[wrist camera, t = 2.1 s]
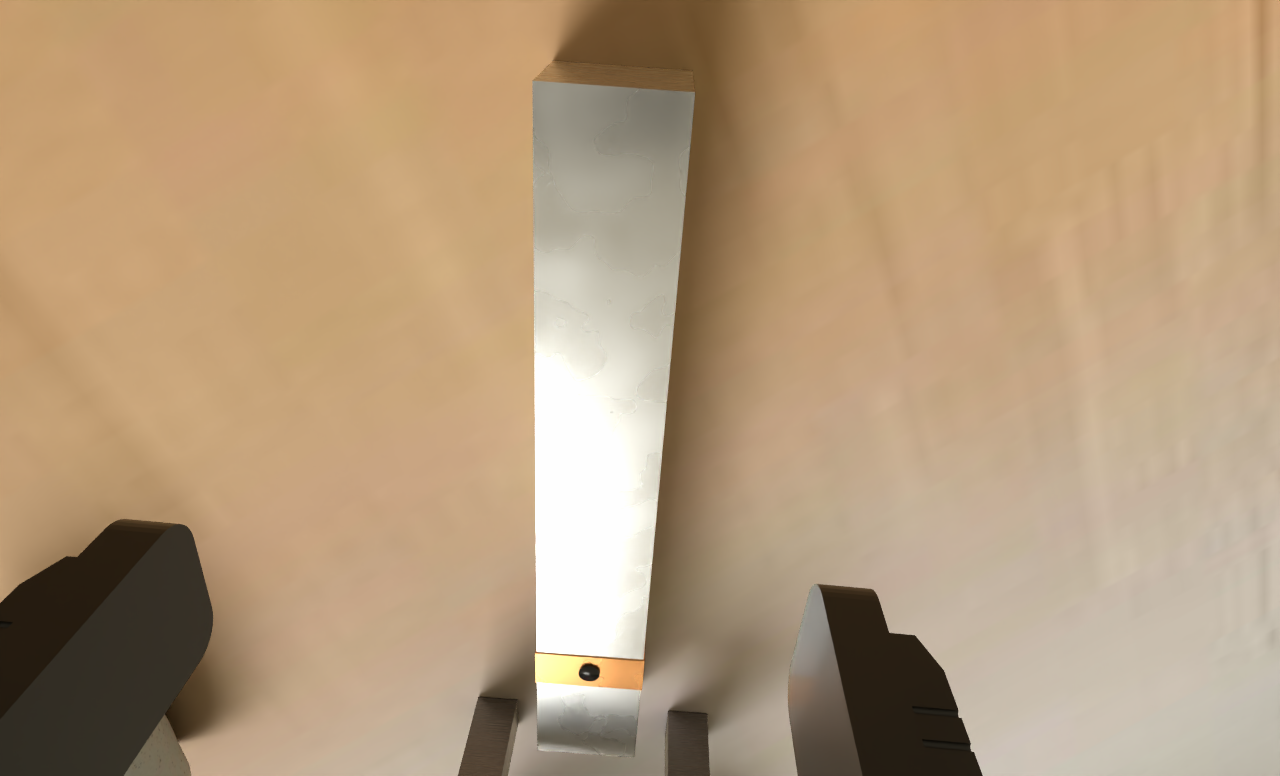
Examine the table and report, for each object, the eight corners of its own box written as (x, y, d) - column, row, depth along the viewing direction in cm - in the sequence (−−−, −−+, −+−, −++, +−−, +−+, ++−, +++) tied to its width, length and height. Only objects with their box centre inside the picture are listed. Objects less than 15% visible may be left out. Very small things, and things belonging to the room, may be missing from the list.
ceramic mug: (171, 629, 35) (47, 793, 28) (225, 747, 39) (128, 915, 32) (-54, 624, 35) (-227, 783, 29) (22, 741, 39) (-114, 904, 33)
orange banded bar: (552, 59, 23) (529, 81, 19) (693, 68, 23) (697, 93, 19) (549, 671, 36) (535, 753, 32) (639, 677, 36) (635, 761, 32)
